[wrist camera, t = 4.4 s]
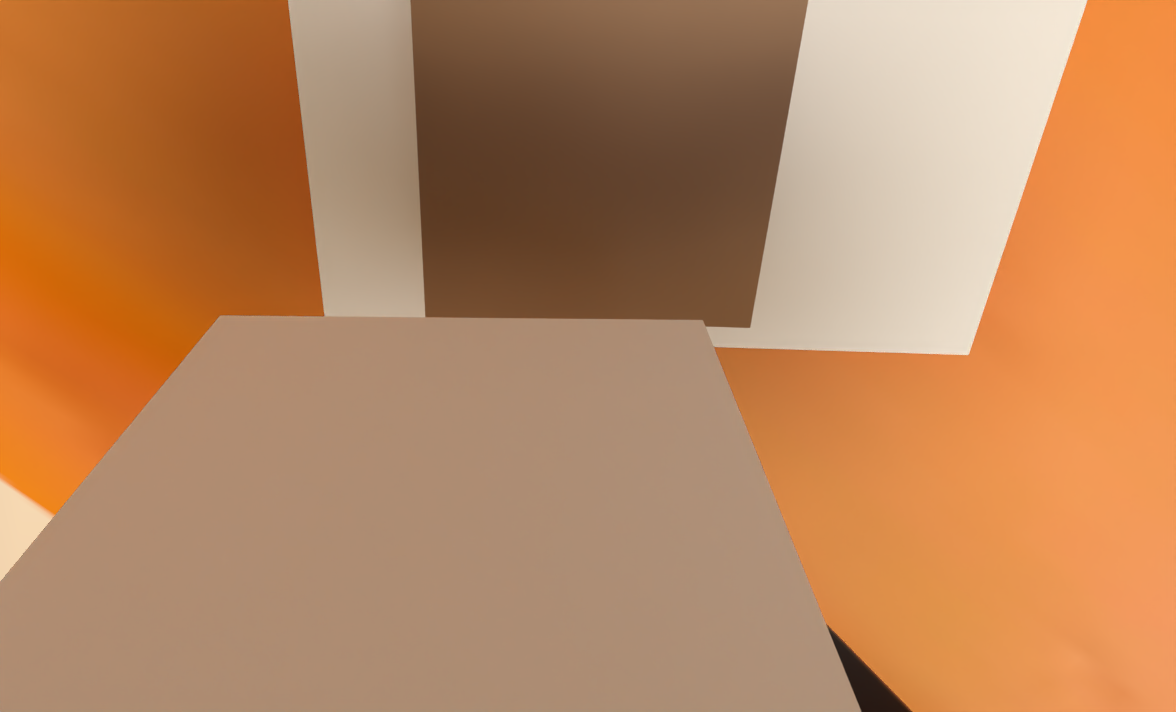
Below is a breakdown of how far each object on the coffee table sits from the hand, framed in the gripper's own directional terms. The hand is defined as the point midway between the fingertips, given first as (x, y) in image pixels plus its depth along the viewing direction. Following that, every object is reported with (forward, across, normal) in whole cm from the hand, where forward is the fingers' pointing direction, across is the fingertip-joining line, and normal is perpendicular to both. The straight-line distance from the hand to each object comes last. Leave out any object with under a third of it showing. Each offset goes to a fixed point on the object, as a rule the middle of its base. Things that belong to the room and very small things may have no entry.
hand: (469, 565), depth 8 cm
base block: (+10, -2, -3) cm, 11 cm away
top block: (+1, 0, 0) cm, 1 cm away
